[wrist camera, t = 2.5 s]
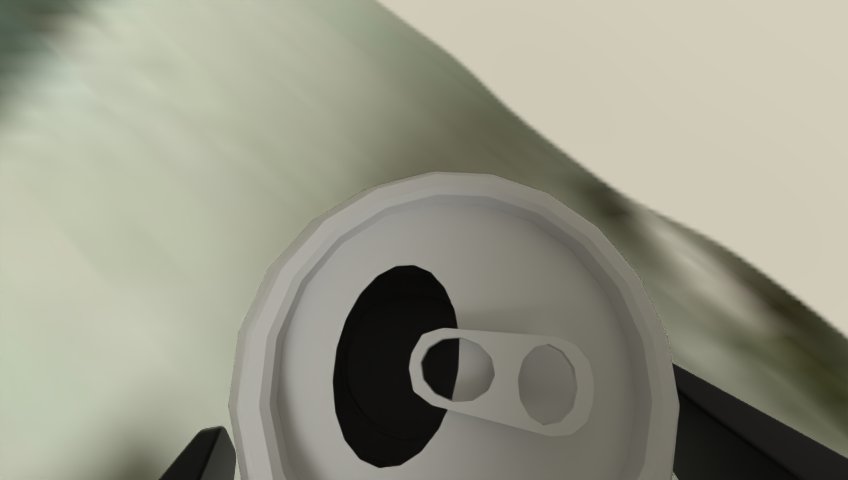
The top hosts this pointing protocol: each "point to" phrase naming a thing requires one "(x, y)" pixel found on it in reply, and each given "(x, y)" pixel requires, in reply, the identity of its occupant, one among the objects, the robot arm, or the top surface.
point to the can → (453, 345)
